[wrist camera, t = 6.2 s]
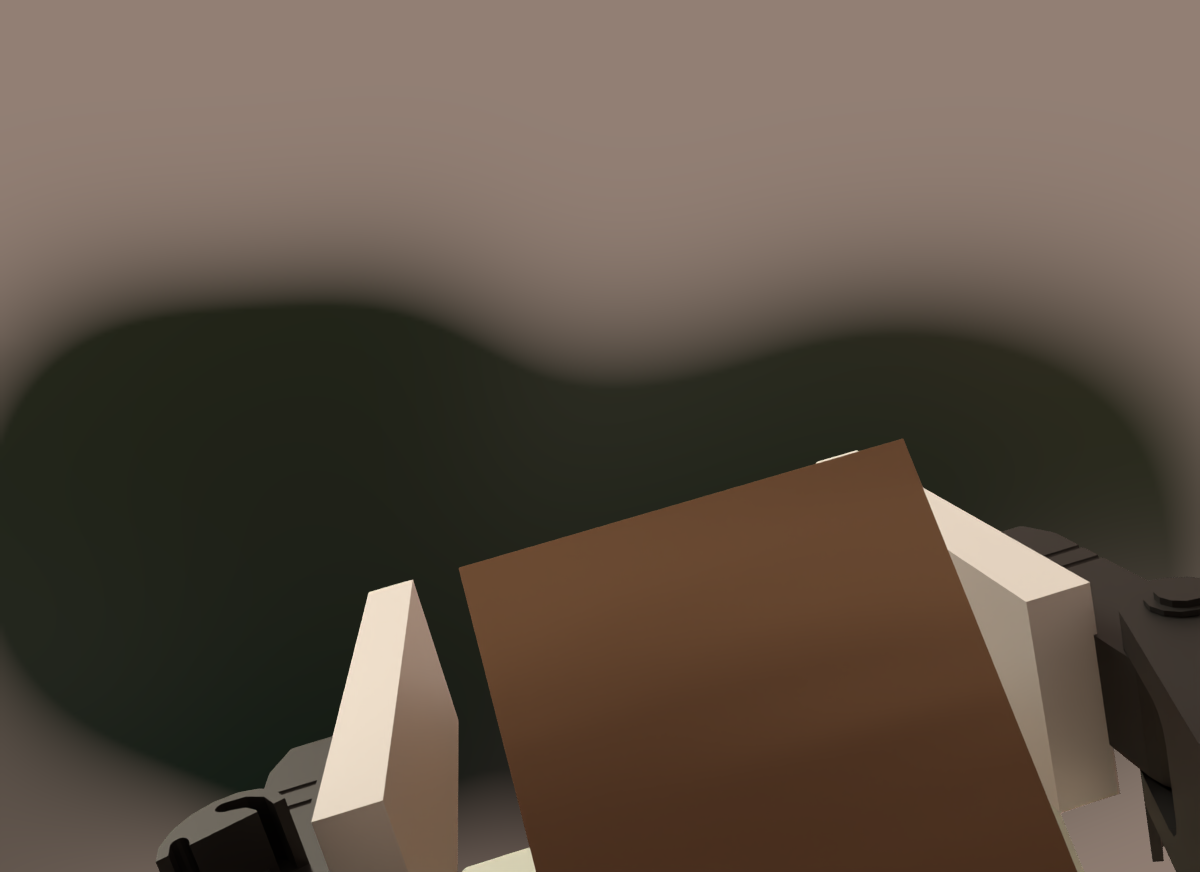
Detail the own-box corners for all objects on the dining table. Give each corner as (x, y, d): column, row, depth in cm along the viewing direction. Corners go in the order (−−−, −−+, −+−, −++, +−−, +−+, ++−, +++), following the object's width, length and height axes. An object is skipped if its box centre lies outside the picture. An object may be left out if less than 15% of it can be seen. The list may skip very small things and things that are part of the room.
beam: (1097, 921, 7) (903, 438, 9) (591, 1092, 7) (458, 567, 8) (706, 772, 36) (673, 665, 37) (602, 805, 36) (572, 696, 37)
